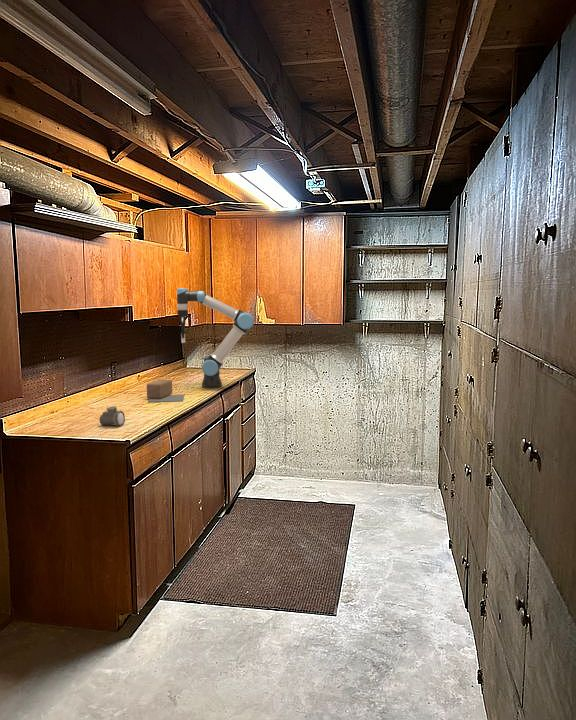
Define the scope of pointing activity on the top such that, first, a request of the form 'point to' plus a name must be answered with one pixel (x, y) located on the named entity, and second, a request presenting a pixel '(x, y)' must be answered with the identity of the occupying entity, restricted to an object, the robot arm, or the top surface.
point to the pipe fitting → (112, 417)
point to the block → (159, 389)
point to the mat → (169, 399)
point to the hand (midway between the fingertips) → (183, 342)
